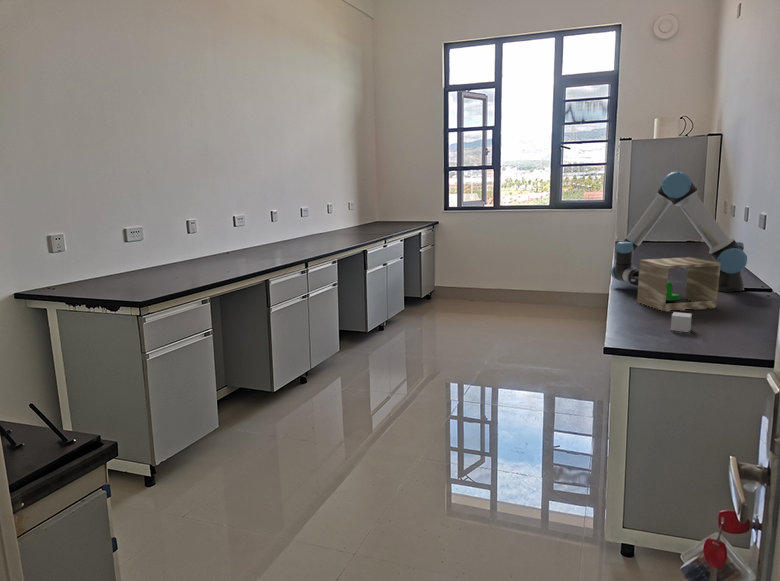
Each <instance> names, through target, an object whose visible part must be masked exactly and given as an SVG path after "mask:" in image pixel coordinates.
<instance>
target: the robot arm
mask: <svg viewBox="0 0 780 581" xmlns="http://www.w3.org/2000/svg"><path fill="white" fill-rule="evenodd" d="M698 190H699V189H698V188H697V187H696V186H695V184H694V182H693V181H692V180H691V178H690V176H689V175H688V174H687V173H686V172H683V171H680V170H679V171H678V170H677V171H676V170H675V171H672V172H670V173H667V175H665V176H664V178H663V180H662V181H661V185H660V187H659V189H658V190H657V191H656V196H655V198H654V199H653V201H652V202H651V203H650V205H648V207H647V208H646V210H645V211H644V213H643V214H642V216H641V217H640V218H639V219H638V221H637V222H636V223H635V225H634V226H633V228H632V229H631V230H630V232H629V233H628V234H627V236H626V237H625V239H624V240H623V241H618V242H617V243H616V247H615V248H616V249H615V251H616V252H615V265H613V266H612V268H611V270H610V275H611V277H612V278H613V279H615V280H616V281H621V282H623V283H628V284H629V285H630V286H631V285H634V286H637V287H638V280H639V268H634V267H632V266H633V256H634V253H635V252H636V251H637V249H638V248H639V247H640V245H641V244H642V242H643V241H644V240H645V238H646V237H647V236H648V235H649V233H651V231H652V229H653V228H654V226H656V224H657V222H658V221H660V219H661V218H662V216H663V215H664V214H665V212H666V211H667V209H668V208H669V207H670V206H671V205H672V204H673V206H677V207H680V209H681V211H682V212H683V214H684V215H685V216H686V217H687V219H688V220H689V222H690V223H691V224H692V226H693V228H694V229H695V230H696V231H697V233H698V234H699V235H700V236H701V238H702V239H703V241H704V242H705V244H706V245H707V246H708V248H709V251H708V254H709V256H711V258H712V259H713V261H714V262H719V263H721V265H720V275H719V286H718V292H724V293H725V292H727V293H734V292H733V291H740V292H743V291H744V290H745V285H744V282H743V278H742V271H743V270H744V269H745V268H746V266H747V264H748V256H747V254H746V252H745V251H744V249H745V247H744V245H745V244H744V243H743V242H740V241H739V242H738V241H736V240H735V239H734V238H730V237H728V235H727V234H726V233H725V232H724V231H725V230H723V229H722V227H721V226H720V225H719V224H718V221H717V220H716V219H715V218H714V216H713V215H712V214H711V212H710V210H709V209H707V207H706V206H705V204H704V203H703V202H702V200H701V198H700V197H699V196H698ZM743 289H744V290H743ZM742 290H743V291H742Z"/></svg>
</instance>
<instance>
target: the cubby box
mask: <svg viewBox="0 0 780 581" xmlns="http://www.w3.org/2000/svg"><path fill="white" fill-rule="evenodd" d="M720 265H721V263H719V262H714V260H713V261H712V260H707V259H702V258H697V257H693V256H692V257H691V256H686V257H685V256H684V257H683V256H682V257H671V258H670V257H669V258H667V257H666V258H651V259H649V258H647V259H639V265H638V270H639V280H638V286H637V297H636V303H637V302H638V304H640V303H642V304H641V305H643V304H645V305H647V306H646V307H648V306H650V307H649V308H651V307H653V308H652V309H654V308H656V309H655V310H657V309H658V310H657V311H659V310H661V311H660V312H662V311H666V312H671V311H670V310H680V311H686V310H685V309H694V310H705V309H706V310H707V308H709V309H716V308H717V305H718V297H719V291H718V286H719V275H720ZM685 268H687V278H686V288H685V300H686V299H688V300H687V301H688V302H675V303H673V302H672V303H666V301H667V300H666V292H667V281H668V276H669V269H672V270H673V269H685ZM689 300H691V301H690V302H689ZM693 301H694V302H693ZM645 305H644V306H645Z"/></svg>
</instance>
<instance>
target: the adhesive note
mask: <svg viewBox="0 0 780 581" xmlns="http://www.w3.org/2000/svg"><path fill="white" fill-rule="evenodd" d="M672 312H673V313H672V314H671V320H670V331H671V330H676V331H684V332H689V331H690V332H691V329H692V328H691V327H692V318H693V317H692V315H693V313H689V312H688V313H687V312H678V311H672ZM690 332H689V333H690Z"/></svg>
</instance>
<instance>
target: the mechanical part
mask: <svg viewBox="0 0 780 581" xmlns="http://www.w3.org/2000/svg"><path fill="white" fill-rule="evenodd" d="M680 299H681V295H680V294H678V293H673V285H672V282H671V281H669V280H667V292H666V301H678V300H679V301H680Z"/></svg>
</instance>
